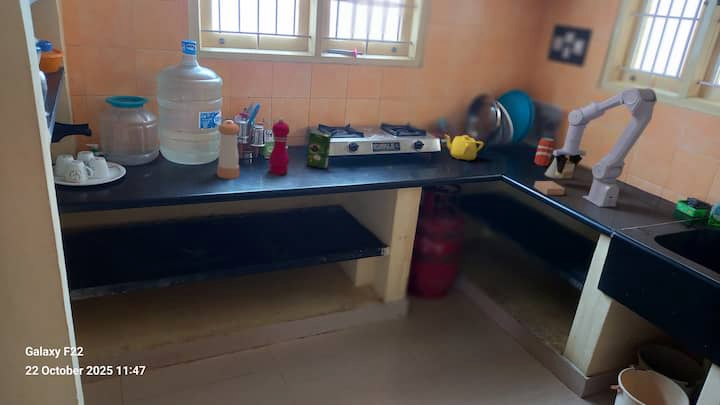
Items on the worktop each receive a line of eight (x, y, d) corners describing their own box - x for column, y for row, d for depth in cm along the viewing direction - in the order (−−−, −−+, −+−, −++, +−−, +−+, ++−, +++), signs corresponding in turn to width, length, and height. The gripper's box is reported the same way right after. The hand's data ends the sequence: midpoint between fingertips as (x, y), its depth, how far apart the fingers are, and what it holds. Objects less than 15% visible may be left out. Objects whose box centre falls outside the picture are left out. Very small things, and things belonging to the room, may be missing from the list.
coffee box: (328, 167, 198) (331, 134, 193) (325, 169, 196) (328, 136, 190) (309, 163, 200) (312, 130, 195) (306, 165, 198) (308, 132, 193)
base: (563, 194, 200) (565, 188, 199) (546, 195, 198) (548, 188, 197) (550, 186, 207) (552, 181, 206) (533, 187, 204) (535, 181, 203)
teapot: (462, 164, 222) (466, 141, 218) (440, 155, 231) (444, 132, 227) (481, 160, 231) (486, 138, 227) (459, 151, 239) (464, 130, 235)
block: (571, 178, 210) (575, 164, 207) (562, 178, 208) (565, 164, 206) (563, 174, 213) (567, 160, 211) (555, 174, 212) (558, 160, 210)
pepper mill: (264, 171, 186) (266, 117, 178) (276, 167, 192) (279, 114, 184) (280, 176, 183) (283, 121, 175) (292, 172, 189) (296, 118, 181)
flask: (562, 180, 217) (569, 157, 213) (545, 177, 218) (551, 155, 214) (560, 175, 224) (566, 153, 220) (543, 172, 225) (549, 150, 221)
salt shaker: (238, 171, 183) (239, 118, 176) (240, 178, 177) (241, 124, 170) (216, 171, 181) (217, 117, 173) (218, 178, 175) (218, 123, 167)
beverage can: (546, 163, 238) (552, 138, 234) (549, 167, 232) (556, 141, 228) (532, 161, 239) (539, 136, 234) (535, 165, 233) (542, 140, 228)
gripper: (580, 137, 211) (572, 168, 216) (551, 136, 206) (543, 169, 211) (593, 142, 205) (583, 174, 210) (563, 142, 200) (554, 175, 205)
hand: (564, 172), depth 210 cm, fingers closed on block, 4 cm apart
